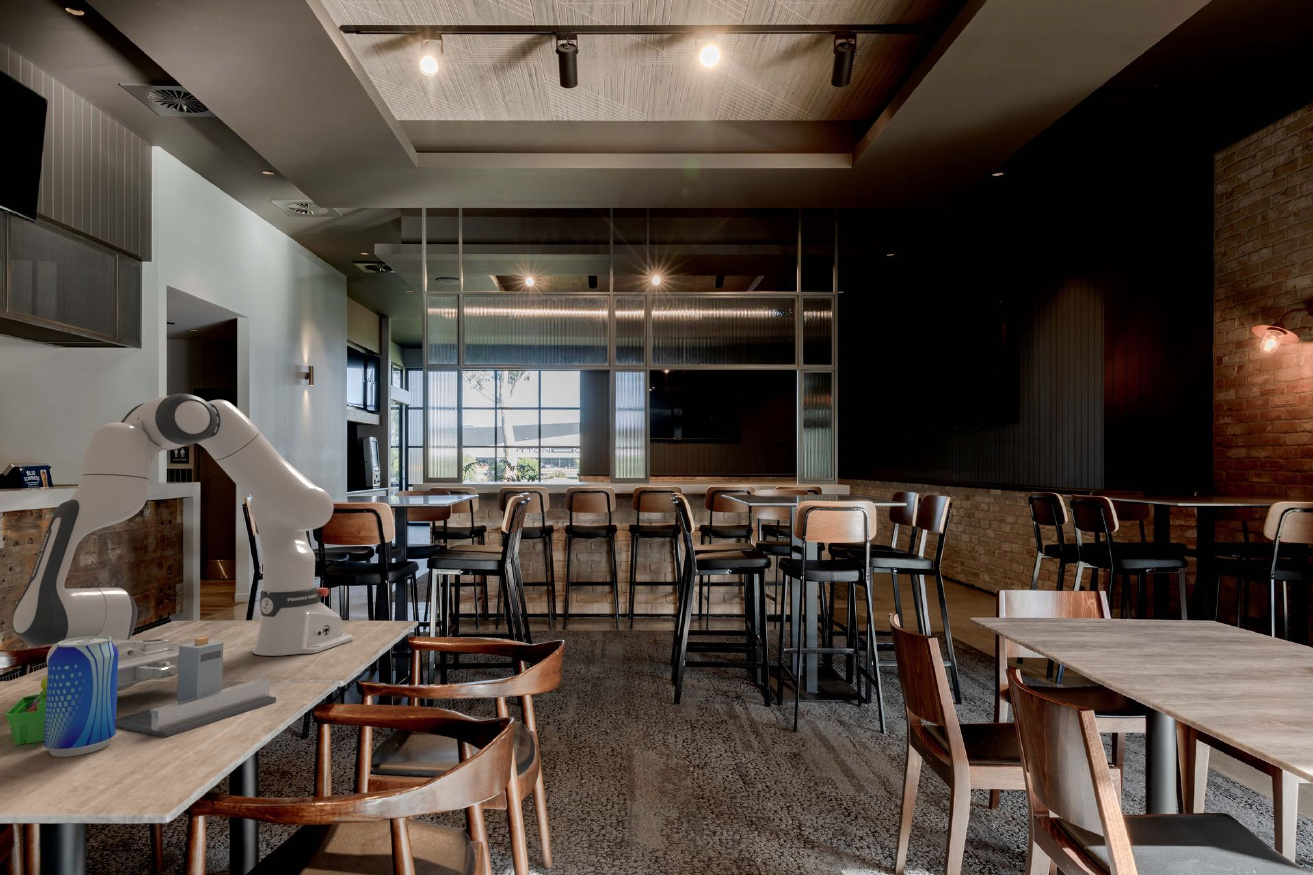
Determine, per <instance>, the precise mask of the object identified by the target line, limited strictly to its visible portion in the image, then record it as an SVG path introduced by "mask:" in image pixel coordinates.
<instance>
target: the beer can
mask: <svg viewBox="0 0 1313 875" xmlns="http://www.w3.org/2000/svg"><path fill="white" fill-rule="evenodd" d="M111 640H112V637H110V636H87V637H78V638H72V639H67V640H63V641H60V642H58V643H57V648H56V649H55V651H54V652H53V654H52V655H51V656H50V658H49V659H48V665H47V675H46V676H47V696H46V719H45V741H43V742H44V744H43V745H44V748H45V749H46V750H48V751H49V754H50V755H51V756H53V757H58V758H59V757H60V758H61V757H62V758H66V757H76V756H82V755H86V754H89V753H90V754H91V753H93V752H94V753H95V752H97V751H100V750H102V749H104V748H106V747H108V745H109V744H110V742H111V740H112V739H113V738H114V737H115V735H116V728H117V727H116V718H117V706H118V704H117V700H118V691H117V679H118V654H119V653H118V650H117V648H116V647H115V646H114V644H113V643H112V642H111Z"/></svg>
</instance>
